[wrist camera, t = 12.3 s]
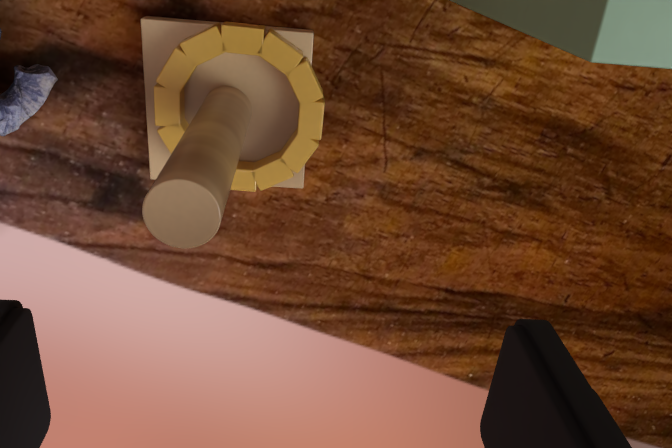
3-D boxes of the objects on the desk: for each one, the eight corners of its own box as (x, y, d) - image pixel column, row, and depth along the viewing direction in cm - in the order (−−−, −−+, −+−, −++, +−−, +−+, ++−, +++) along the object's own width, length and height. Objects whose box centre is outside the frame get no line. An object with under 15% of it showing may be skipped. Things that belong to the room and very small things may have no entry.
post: (145, 15, 27) (27, 74, 16) (313, 29, 28) (320, 96, 16) (154, 172, 31) (63, 316, 19) (303, 181, 31) (303, 325, 20)
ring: (157, 13, 26) (151, 17, 25) (330, 32, 27) (331, 36, 26) (162, 175, 30) (156, 184, 29) (315, 188, 30) (315, 197, 29)
